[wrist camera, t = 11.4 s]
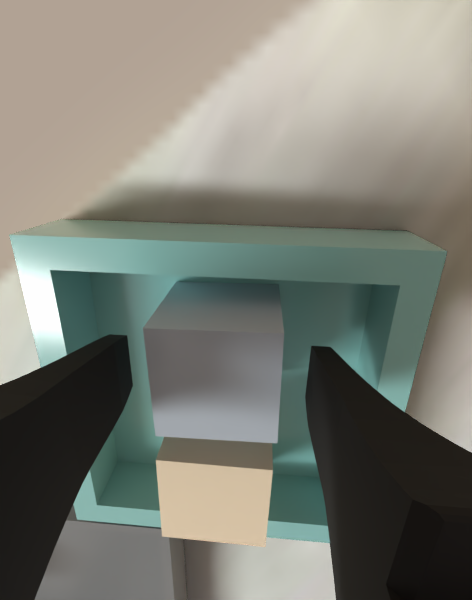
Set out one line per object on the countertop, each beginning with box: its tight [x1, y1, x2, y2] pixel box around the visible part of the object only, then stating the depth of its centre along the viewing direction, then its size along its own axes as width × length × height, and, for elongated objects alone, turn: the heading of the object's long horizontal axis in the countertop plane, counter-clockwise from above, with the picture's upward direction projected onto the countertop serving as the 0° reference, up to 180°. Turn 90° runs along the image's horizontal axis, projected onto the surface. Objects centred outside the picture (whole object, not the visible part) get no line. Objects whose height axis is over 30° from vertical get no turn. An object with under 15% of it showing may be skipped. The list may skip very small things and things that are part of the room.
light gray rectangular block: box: [143, 281, 284, 443], centre depth 12 cm, size 4×4×4 cm
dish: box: [9, 219, 447, 543], centre depth 14 cm, size 13×13×3 cm
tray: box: [35, 505, 187, 600], centre depth 21 cm, size 17×15×2 cm
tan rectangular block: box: [156, 437, 273, 547], centre depth 14 cm, size 4×4×4 cm
